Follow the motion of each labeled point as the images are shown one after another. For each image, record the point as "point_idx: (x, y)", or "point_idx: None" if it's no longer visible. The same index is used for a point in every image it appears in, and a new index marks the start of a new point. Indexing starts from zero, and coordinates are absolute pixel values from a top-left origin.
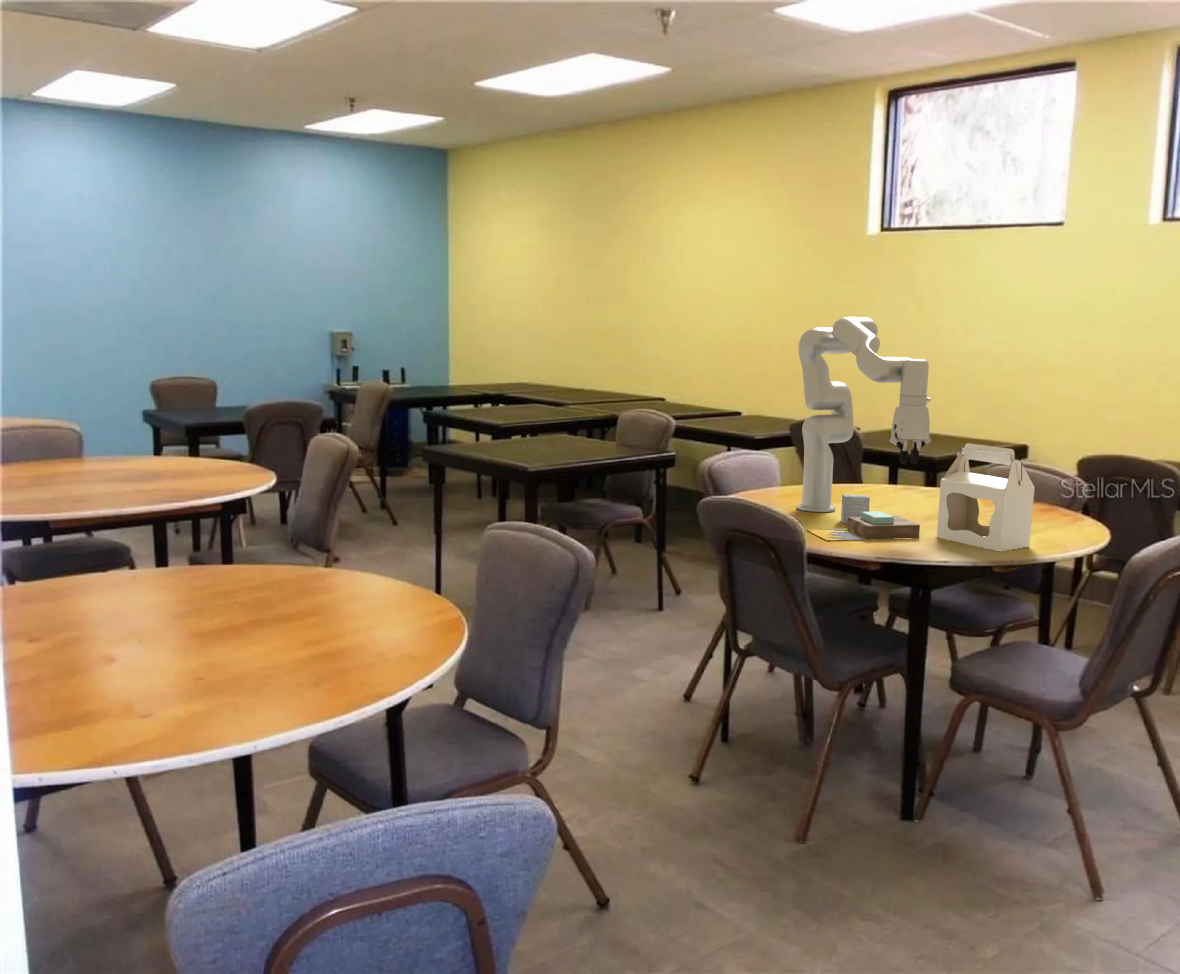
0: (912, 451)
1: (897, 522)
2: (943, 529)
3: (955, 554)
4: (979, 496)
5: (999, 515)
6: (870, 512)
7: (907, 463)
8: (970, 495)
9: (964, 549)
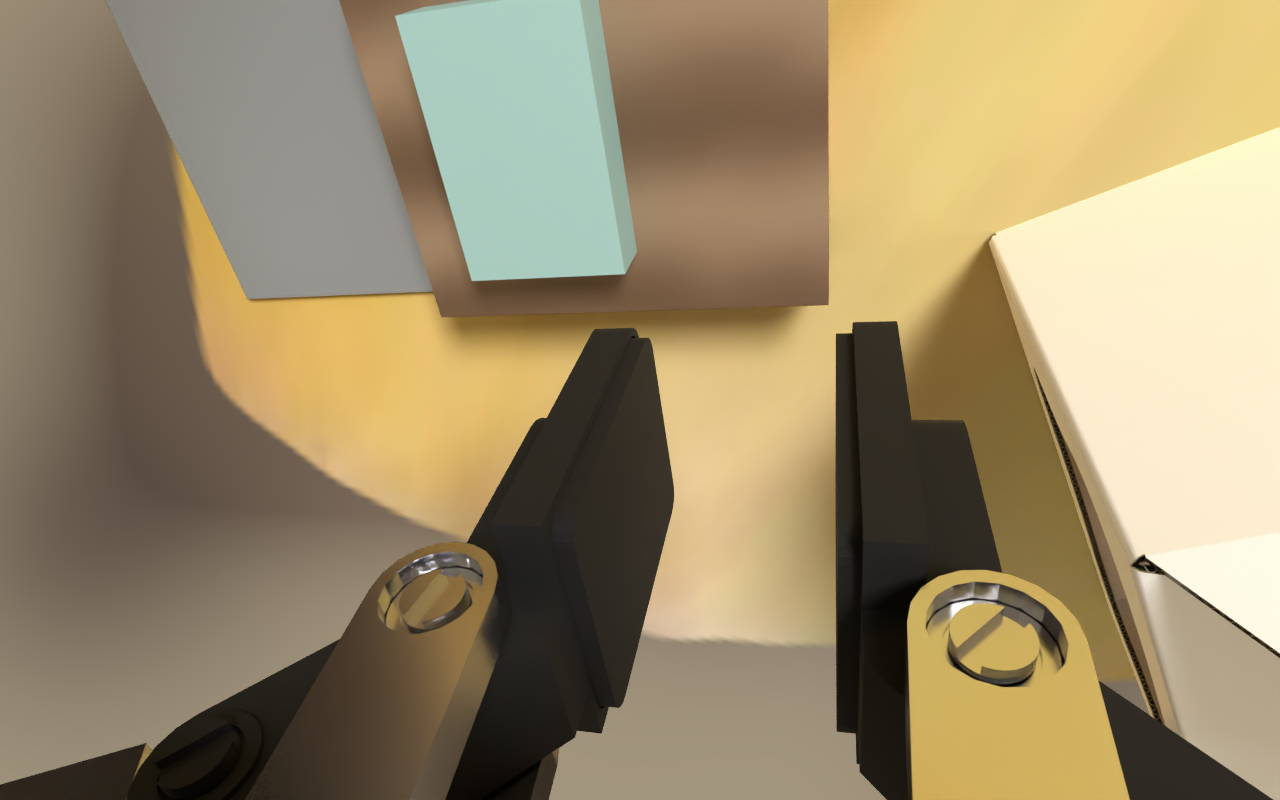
0: (839, 592)
1: (686, 205)
2: (1016, 317)
3: (826, 595)
4: None
5: None
6: (473, 57)
7: (672, 504)
8: None
9: None
